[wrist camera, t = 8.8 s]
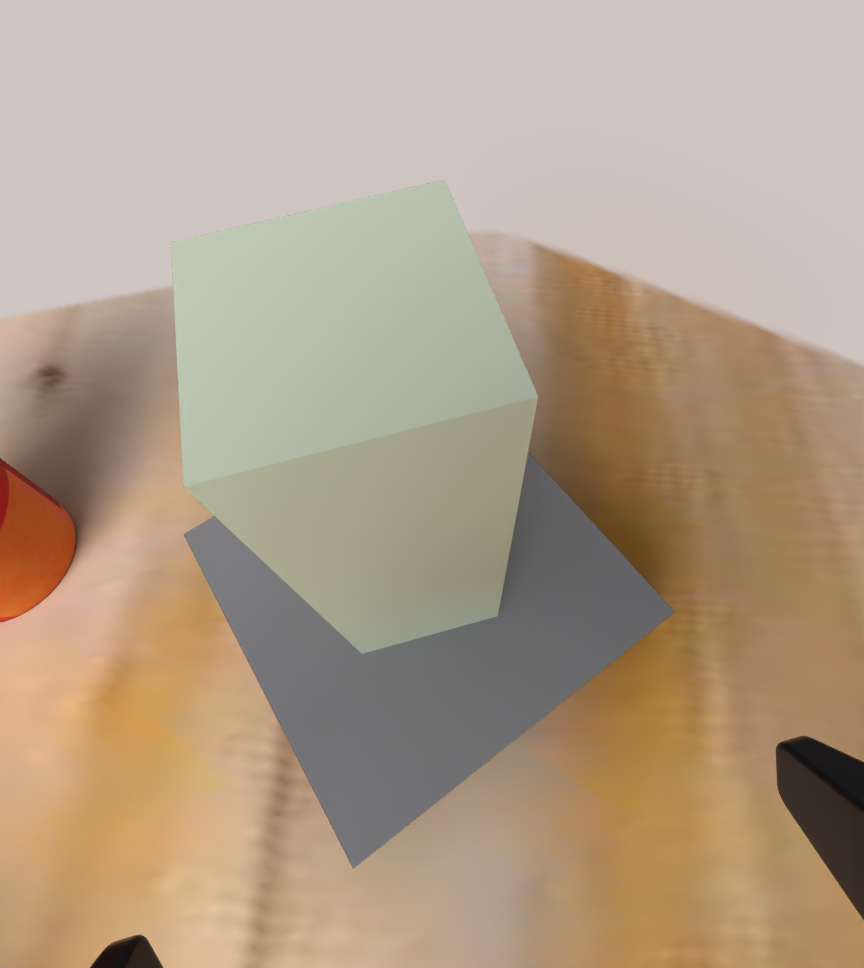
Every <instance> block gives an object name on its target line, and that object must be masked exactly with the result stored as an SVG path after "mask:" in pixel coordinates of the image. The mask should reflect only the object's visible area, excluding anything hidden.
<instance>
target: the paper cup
mask: <svg viewBox="0 0 864 968" xmlns="http://www.w3.org/2000/svg"><path fill="white" fill-rule="evenodd" d="M75 547H76V529H75V525H74V522H73V520H72V518H71V516H70V514H69V513H68V512H67V511H66V510H65V508H64V507H63V506H62V505H60V504H59V503H58V502H57V501H56V500H55V499H53V498H52V497H51V496H50V495H48V494H47V493H46V492H45V491H43V490H42V489H41V488H39V487H38V486H37V485H35V484H34V483H33V482H32V481H30V480H29V479H27V478H26V477H25V476H23V475H22V474H21V473H19V472H18V471H17V470H15V469H14V468H13V467H11V466H10V465H9V464H7V463H6V462H5V461H3V460H2V459H0V622H4V621H7V620H10V619H13V618H16V617H18V616H20V615H22V614H24V613H26V612H27V611H29V610H31V609H32V608H34V607H35V606H36V605H38V604H39V603H40V602H42V601H43V600H44V599H45V598H46V597H47V596H48V595H49V594H50V593H51V592H52V591H53V590H54V589H55V588H56V586H57V585H58V584H59V583H60V581H61V580H62V578H63V577H64V575H65V574H66V572H67V570H68V568H69V566H70V564H71V561H72V559H73V555H74V552H75Z"/></svg>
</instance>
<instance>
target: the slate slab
mask: <svg viewBox="0 0 864 968" xmlns="http://www.w3.org/2000/svg"><path fill="white" fill-rule="evenodd" d="M184 536H185V538H186V540H187V542H188V544H189V546H190V548H191V550H192V552H193V554H194V556H195V558H196V560H197V562H198V564H199V566H200V568H201V570H202V572H203V574H204V576H205V578H206V580H207V582H208V584H209V586H210V588H211V590H212V591H213V593H214V595H215V597H216V599H217V601H218V603H219V605H220V607H221V609H222V611H223V613H224V615H225V617H226V619H227V621H228V623H229V625H230V627H231V629H232V631H233V633H234V635H235V637H236V639H237V641H238V643H239V645H240V647H241V649H242V651H243V653H244V655H245V656H246V658H247V660H248V662H249V664H250V666H251V668H252V670H253V672H254V674H255V676H256V678H257V680H258V682H259V684H260V686H261V688H262V690H263V692H264V694H265V696H266V698H267V700H268V702H269V704H270V706H271V708H272V710H273V712H274V714H275V716H276V718H277V720H278V722H279V723H280V725H281V727H282V729H283V731H284V733H285V735H286V737H287V739H288V741H289V743H290V745H291V747H292V749H293V751H294V753H295V755H296V757H297V759H298V761H299V763H300V765H301V767H302V769H303V771H304V773H305V775H306V777H307V779H308V781H309V783H310V785H311V787H312V788H313V790H314V792H315V794H316V796H317V798H318V800H319V802H320V804H321V806H322V808H323V810H324V812H325V814H326V816H327V818H328V820H329V822H330V824H331V826H332V828H333V830H334V832H335V834H336V836H337V838H338V840H339V842H340V844H341V846H342V848H343V850H344V852H345V853H346V855H347V857H348V859H349V861H350V863H351V865H352V867H353V868H355V867H356V866H357V865H358V864H360V863H361V862H362V861H363V860H365V859H366V858H367V857H368V856H370V855H371V854H372V853H373V852H375V851H376V850H377V849H378V848H380V847H381V846H382V845H383V844H385V843H386V842H387V841H388V840H390V839H391V838H392V837H393V836H395V835H396V834H397V833H398V832H400V831H401V830H402V829H403V828H405V827H406V826H407V825H408V824H410V823H411V822H412V821H413V820H415V819H416V818H417V817H419V816H420V815H421V814H422V813H424V812H425V811H426V810H427V809H429V808H430V807H431V806H432V805H434V804H435V803H436V802H437V801H439V800H440V799H441V798H442V797H444V796H445V795H446V794H447V793H449V792H450V791H451V790H452V789H454V788H455V787H456V786H457V785H459V784H460V783H461V782H462V781H464V780H465V779H466V778H467V777H469V776H470V775H471V774H472V773H474V772H475V771H476V770H477V769H479V768H480V767H481V766H482V765H484V764H485V763H486V762H487V761H489V760H490V759H491V758H492V757H494V756H495V755H496V754H497V753H499V752H500V751H501V750H502V749H504V748H505V747H506V746H507V745H509V744H510V743H511V742H512V741H514V740H515V739H516V738H518V737H519V736H520V735H521V734H523V733H524V732H525V731H526V730H528V729H529V728H530V727H531V726H533V725H534V724H535V723H536V722H538V721H539V720H540V719H541V718H543V717H544V716H545V715H546V714H548V713H549V712H550V711H551V710H553V709H554V708H555V707H556V706H558V705H559V704H560V703H561V702H563V701H564V700H565V699H566V698H568V697H569V696H570V695H571V694H573V693H574V692H575V691H576V690H578V689H579V688H580V687H581V686H583V685H584V684H585V683H586V682H588V681H589V680H590V679H591V678H593V677H594V676H595V675H596V674H598V673H599V672H600V671H601V670H603V669H604V668H605V667H606V666H608V665H609V664H610V663H611V662H613V661H614V660H615V659H617V658H618V657H619V656H620V655H622V654H623V653H624V652H625V651H627V650H628V649H629V648H630V647H632V646H633V645H634V644H635V643H637V642H638V641H639V640H640V639H642V638H643V637H644V636H645V635H647V634H648V633H649V632H650V631H652V630H653V629H654V628H655V627H657V626H658V625H659V624H660V623H662V622H663V621H664V620H665V619H667V618H668V617H669V616H670V615H672V614H673V613H674V612H675V611H674V610H673V609H672V608H671V607H670V606H669V605H668V604H667V602H666V601H665V600H664V599H663V598H662V597H661V596H660V595H659V594H658V593H657V592H656V590H655V589H654V588H653V587H652V586H651V585H650V584H649V583H648V582H647V581H646V580H645V578H644V577H643V576H642V575H641V574H640V573H639V572H638V571H637V570H636V569H635V568H634V567H633V565H632V564H631V563H630V562H629V561H628V560H627V559H626V558H625V557H624V556H623V555H622V553H621V552H620V551H619V550H618V549H617V548H616V547H615V546H614V545H613V544H612V543H611V542H610V540H609V539H608V538H607V537H606V536H605V535H604V534H603V533H602V532H601V531H600V530H599V528H598V527H597V526H596V525H595V524H594V523H593V522H592V521H591V520H590V519H589V518H588V516H587V515H586V514H585V513H584V512H583V511H582V510H581V509H580V508H579V507H578V506H577V505H576V503H575V502H574V501H573V500H572V499H571V498H570V497H569V496H568V495H567V494H566V493H565V491H564V490H563V489H562V488H561V487H560V486H559V485H558V484H557V483H556V482H555V481H554V479H553V478H552V477H551V476H550V475H549V474H548V473H547V472H546V471H545V470H544V469H543V468H542V466H541V465H540V464H539V463H538V462H537V461H536V460H535V459H534V458H533V457H532V456H531V454H530V453H529V452H528V455H527V461H526V466H525V471H524V477H523V482H522V488H521V493H520V499H519V504H518V509H517V515H516V520H515V526H514V531H513V536H512V542H511V547H510V553H509V558H508V563H507V569H506V574H505V580H504V585H503V591H502V596H501V601H500V607H499V612H498V616H497V617H493V618H490V619H486V620H482V621H479V622H475V623H472V624H468V625H464V626H461V627H457V628H453V629H450V630H446V631H443V632H439V633H435V634H432V635H428V636H425V637H421V638H417V639H414V640H410V641H407V642H403V643H399V644H396V645H392V646H389V647H385V648H381V649H378V650H374V651H370V652H367V653H363V654H362V653H361V652H360V651H358V650H357V649H356V648H355V647H354V646H353V645H352V644H351V643H350V642H349V641H348V640H347V639H346V638H345V637H344V636H342V635H341V634H340V633H339V632H338V631H337V630H336V629H335V628H334V627H333V626H332V625H331V624H330V623H329V622H327V621H326V620H325V619H324V618H323V617H322V616H321V615H320V614H319V613H318V612H317V611H316V610H315V609H314V608H312V607H311V606H310V605H309V604H308V603H307V602H306V601H305V600H304V599H303V598H302V597H301V596H300V595H299V594H297V593H296V592H295V591H294V590H293V589H292V588H291V587H290V586H289V585H288V584H287V583H286V582H285V581H284V580H283V579H281V578H280V577H279V576H278V575H277V574H276V573H275V572H274V571H273V570H272V569H271V568H270V567H269V566H268V565H266V564H265V563H264V562H263V561H262V560H261V559H260V558H259V557H258V556H257V555H256V554H255V553H254V552H253V551H251V550H250V549H249V548H248V547H247V546H246V545H245V544H244V543H243V542H242V541H241V540H240V539H239V538H238V537H236V536H235V535H234V534H233V533H232V532H231V531H230V530H229V529H228V528H227V527H226V526H225V525H224V524H223V523H221V522H220V521H219V520H218V519H217V518H216V517H215V516H213V517H212V518H210V519H208V520H207V521H205V522H203V523H202V524H200V525H198V526H197V527H195V528H194V529H192V530H190V531H189V532H187V533H185V534H184Z"/></svg>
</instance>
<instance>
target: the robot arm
mask: <svg viewBox="0 0 864 968" xmlns="http://www.w3.org/2000/svg"><path fill="white" fill-rule="evenodd" d="M776 768H777V786H778V790H779V794H780V796H781V798H782V800H783V802H784V804H785V806H786V807H787V809H788V810H789V812H790V813H791V814H792V816H793V817H794V819H795V820H796V822H797V823H798V825H799V826H800V828H801V829H802V831H803V832H804V834H805V835H806V836H807V838H808V839H809V841H810V842H811V844H812V845H813V847H814V848H815V850H816V851H817V853H818V854H819V856H820V857H821V859H822V860H823V861H824V863H825V864H826V866H827V867H828V869H829V870H830V872H831V873H832V875H833V876H834V878H835V879H836V881H837V882H838V883H839V885H840V886H841V888H842V889H843V891H844V892H845V894H846V895H847V897H848V898H849V900H850V901H851V903H852V904H853V905H854V907H855V908H856V910H857V911H858V912H859V914H860V915H861V917H862V918H863V919H864V762H863V761H860V760H858V759H856V758H854V757H852V756H850V755H847V754H845V753H843V752H841V751H839V750H837V749H835V748H832V747H830V746H828V745H826V744H824V743H822V742H819V741H817V740H815V739H813V738H810V737H806V736H800V737H796V738H793V739H789V740H786V741H783V742H780V743H779V744H778V745H777V747H776ZM90 968H163V966H162V964H161V963H160V961H159V959H158V957H157V956H156V954H155V952H154V950H153V948H152V947H151V945H150V943H149V941H148V940H147V938H146V937H144V936H142V935H135V936H132V937H128V938H125V939H122V940H118V941H115V942H113V943H111V944H110V945H109V946H107V947H106V948H105V949H104V950H103V952H102V953H101V954H100V955H99V957H98V958H97V959H96V960H95V962H94V963H93V964H92V966H91V967H90Z"/></svg>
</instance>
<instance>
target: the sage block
mask: <svg viewBox="0 0 864 968" xmlns="http://www.w3.org/2000/svg"><path fill="white" fill-rule="evenodd" d="M171 256H172V276H173V295H174V315H175V334H176V353H177V372H178V391H179V411H180V430H181V449H182V468H183V487H184V488H185V489H186V490H187V491H188V492H189V493H190V494H192V495H193V496H194V497H195V498H196V499H197V500H198V501H199V502H200V503H201V504H202V505H203V506H204V507H205V508H207V509H208V510H209V511H210V512H211V513H212V514H213V515H214V516H215V517H216V518H217V519H218V520H219V521H220V522H221V523H223V524H224V525H225V526H226V527H227V528H228V529H229V530H230V531H231V532H232V533H233V534H234V535H235V536H236V537H238V538H239V539H240V540H241V541H242V542H243V543H244V544H245V545H246V546H247V547H248V548H249V549H250V550H251V551H253V552H254V553H255V554H256V555H257V556H258V557H259V558H260V559H261V560H262V561H263V562H264V563H265V564H266V565H268V566H269V567H270V568H271V569H272V570H273V571H274V572H275V573H276V574H277V575H278V576H279V577H280V578H281V579H283V580H284V581H285V582H286V583H287V584H288V585H289V586H290V587H291V588H292V589H293V590H294V591H295V592H296V593H297V594H299V595H300V596H301V597H302V598H303V599H304V600H305V601H306V602H307V603H308V604H309V605H310V606H311V607H312V608H314V609H315V610H316V611H317V612H318V613H319V614H320V615H321V616H322V617H323V618H324V619H325V620H326V621H327V622H329V623H330V624H331V625H332V626H333V627H334V628H335V629H336V630H337V631H338V632H339V633H340V634H341V635H342V636H344V637H345V638H346V639H347V640H348V641H349V642H350V643H351V644H352V645H353V646H354V647H355V648H356V649H357V650H358V651H360V652H361V653H362V654H363V653H367V652H370V651H374V650H378V649H381V648H385V647H389V646H392V645H396V644H399V643H403V642H407V641H410V640H414V639H417V638H421V637H425V636H428V635H432V634H435V633H439V632H443V631H446V630H450V629H453V628H457V627H461V626H464V625H468V624H472V623H475V622H479V621H482V620H486V619H490V618H493V617H497V616H498V612H499V607H500V601H501V596H502V591H503V585H504V580H505V574H506V569H507V563H508V558H509V553H510V547H511V542H512V536H513V531H514V526H515V520H516V515H517V509H518V504H519V499H520V493H521V488H522V482H523V477H524V471H525V466H526V461H527V455H528V450H529V444H530V439H531V434H532V428H533V423H534V417H535V412H536V406H537V401H538V395H537V392H536V390H535V388H534V385H533V383H532V381H531V378H530V376H529V374H528V371H527V369H526V367H525V364H524V362H523V360H522V357H521V355H520V353H519V350H518V348H517V346H516V343H515V341H514V339H513V336H512V334H511V332H510V329H509V327H508V325H507V322H506V320H505V318H504V316H503V313H502V311H501V309H500V306H499V304H498V302H497V299H496V297H495V295H494V292H493V290H492V288H491V285H490V283H489V281H488V278H487V276H486V274H485V271H484V269H483V267H482V264H481V262H480V260H479V257H478V255H477V253H476V250H475V248H474V246H473V243H472V241H471V239H470V236H469V234H468V232H467V229H466V227H465V225H464V222H463V220H462V218H461V216H460V213H459V211H458V209H457V206H456V204H455V201H454V199H453V197H452V195H451V192H450V190H449V188H448V185H447V183H446V181H445V180H440V181H436V182H432V183H427V184H423V185H419V186H414V187H410V188H406V189H401V190H397V191H392V192H388V193H384V194H380V195H375V196H371V197H366V198H362V199H357V200H353V201H349V202H345V203H340V204H336V205H331V206H327V207H323V208H318V209H314V210H309V211H305V212H301V213H297V214H292V215H288V216H283V217H279V218H275V219H270V220H266V221H262V222H257V223H253V224H249V225H244V226H240V227H235V228H231V229H227V230H222V231H218V232H214V233H209V234H205V235H200V236H196V237H192V238H187V239H184V240H179V241H174V242H171Z"/></svg>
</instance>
